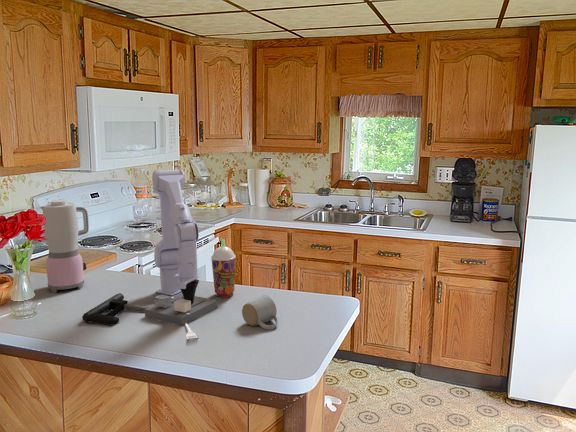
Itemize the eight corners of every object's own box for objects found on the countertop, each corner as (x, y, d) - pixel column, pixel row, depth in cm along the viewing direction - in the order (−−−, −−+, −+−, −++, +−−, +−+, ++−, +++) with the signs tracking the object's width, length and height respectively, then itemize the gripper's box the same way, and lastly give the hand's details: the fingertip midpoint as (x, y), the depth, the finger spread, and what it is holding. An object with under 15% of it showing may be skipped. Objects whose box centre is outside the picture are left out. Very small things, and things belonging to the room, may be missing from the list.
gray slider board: (181, 300, 175) (181, 292, 175) (217, 307, 168) (217, 300, 167) (145, 316, 161) (144, 309, 160) (182, 326, 153) (181, 317, 153)
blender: (51, 295, 181) (42, 205, 175) (44, 286, 191) (36, 200, 185) (97, 286, 190) (90, 200, 184) (89, 278, 200) (82, 196, 194)
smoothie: (221, 300, 175) (219, 242, 171) (207, 294, 181) (205, 238, 177) (241, 294, 180) (240, 238, 176) (227, 289, 186) (226, 234, 182)
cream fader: (181, 307, 161) (180, 298, 160) (191, 309, 159) (190, 300, 158) (174, 310, 158) (174, 301, 158) (184, 312, 156) (184, 303, 156)
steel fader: (161, 302, 164) (161, 294, 164) (171, 305, 163) (170, 296, 162) (154, 305, 162) (154, 297, 161) (164, 308, 160) (164, 299, 159)
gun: (157, 297, 171) (113, 291, 175) (125, 321, 152) (76, 313, 156) (157, 307, 172) (113, 300, 176) (125, 331, 153) (77, 323, 157)
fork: (187, 318, 161) (187, 313, 161) (200, 343, 143) (199, 336, 142) (177, 320, 160) (177, 314, 160) (188, 344, 142) (187, 338, 141)
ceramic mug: (240, 323, 155) (239, 299, 154) (260, 315, 161) (260, 292, 159) (264, 333, 148) (264, 308, 146) (284, 325, 154) (284, 301, 152)
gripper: (181, 255, 166) (183, 295, 168) (167, 268, 152) (169, 312, 154) (203, 255, 165) (204, 296, 168) (191, 268, 151) (193, 312, 153)
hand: (189, 303), depth 161 cm, fingers closed
